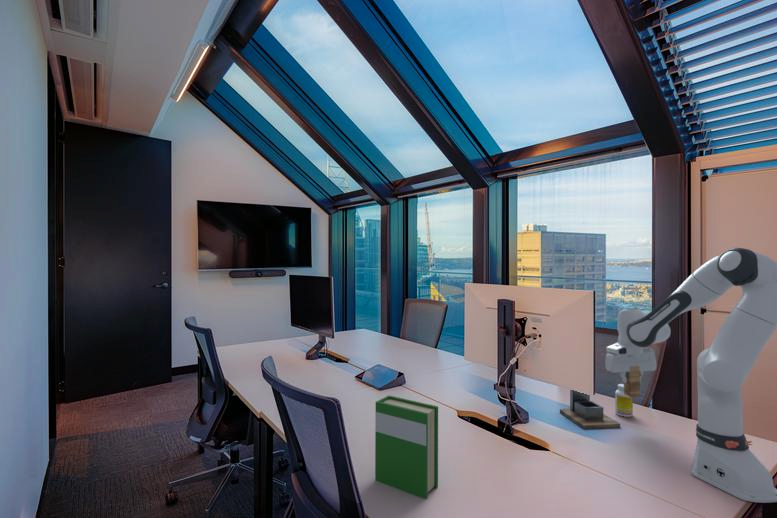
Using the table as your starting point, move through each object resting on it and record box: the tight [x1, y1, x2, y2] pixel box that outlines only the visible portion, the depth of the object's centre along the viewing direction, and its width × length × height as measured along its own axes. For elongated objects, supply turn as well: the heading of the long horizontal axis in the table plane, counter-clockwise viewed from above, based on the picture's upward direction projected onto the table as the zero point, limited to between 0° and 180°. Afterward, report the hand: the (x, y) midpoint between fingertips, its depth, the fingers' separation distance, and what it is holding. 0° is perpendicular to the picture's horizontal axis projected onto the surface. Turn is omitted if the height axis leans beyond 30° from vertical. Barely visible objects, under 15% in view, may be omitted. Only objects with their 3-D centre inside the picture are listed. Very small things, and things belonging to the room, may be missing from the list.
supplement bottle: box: [614, 383, 634, 418], centre depth 178 cm, size 7×7×13 cm
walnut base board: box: [559, 408, 621, 430], centre depth 172 cm, size 18×16×2 cm
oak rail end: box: [623, 366, 641, 398], centre depth 163 cm, size 4×4×12 cm
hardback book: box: [374, 395, 439, 500], centre depth 121 cm, size 18×7×24 cm, turn 56°
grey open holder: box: [569, 389, 604, 420], centre depth 173 cm, size 12×8×14 cm
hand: (631, 382), depth 163 cm, fingers closed on oak rail end, 4 cm apart
